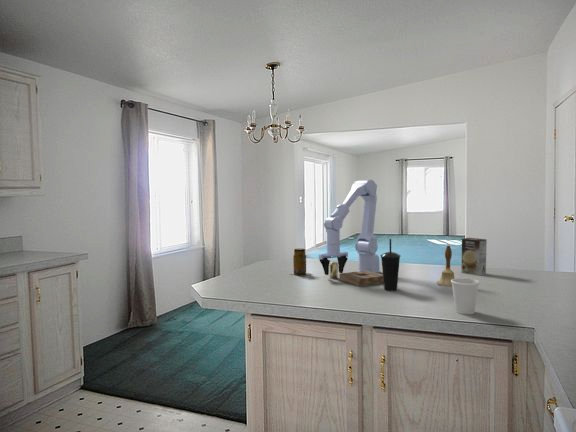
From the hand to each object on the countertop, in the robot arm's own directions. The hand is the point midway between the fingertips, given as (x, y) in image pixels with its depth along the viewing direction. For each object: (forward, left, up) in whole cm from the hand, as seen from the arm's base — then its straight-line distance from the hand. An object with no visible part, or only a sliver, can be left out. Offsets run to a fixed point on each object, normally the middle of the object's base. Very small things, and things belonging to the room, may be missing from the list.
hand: (333, 273), depth 193 cm
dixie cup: (-5, +67, -2) cm, 67 cm away
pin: (0, 0, -2) cm, 2 cm away
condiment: (+8, -16, -2) cm, 18 cm away
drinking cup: (-6, +31, -2) cm, 32 cm away
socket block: (-6, +13, -2) cm, 14 cm away
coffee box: (-60, +26, -2) cm, 65 cm away
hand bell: (-32, +36, -2) cm, 48 cm away
